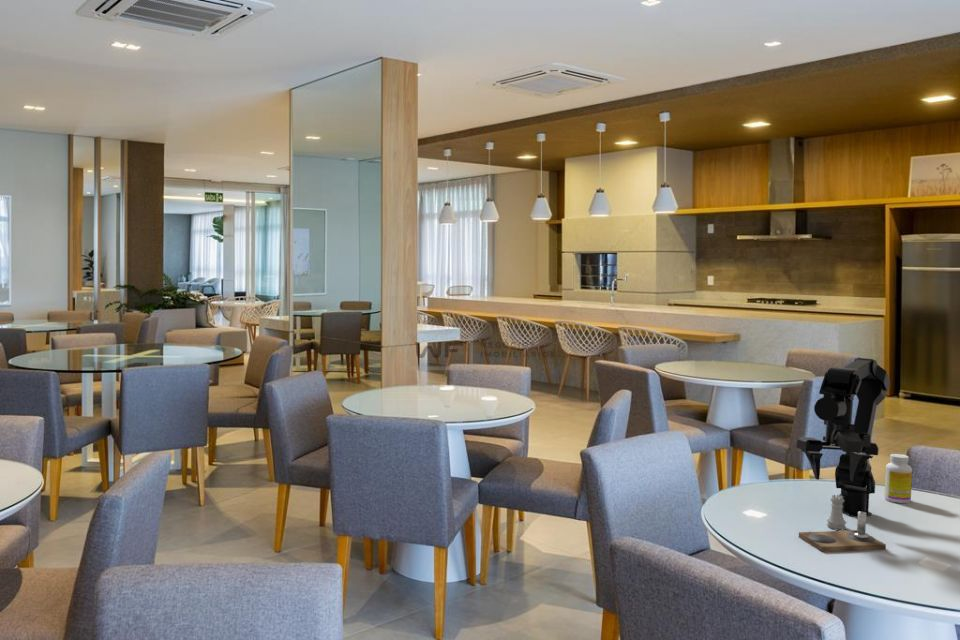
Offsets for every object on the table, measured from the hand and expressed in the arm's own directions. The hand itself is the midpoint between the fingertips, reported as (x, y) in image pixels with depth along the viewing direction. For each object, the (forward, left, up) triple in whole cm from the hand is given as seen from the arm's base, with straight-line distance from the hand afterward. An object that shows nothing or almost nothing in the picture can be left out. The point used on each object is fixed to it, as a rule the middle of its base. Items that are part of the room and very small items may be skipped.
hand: (834, 480), depth 201 cm
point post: (0, +11, -11) cm, 16 cm away
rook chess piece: (-1, 0, -12) cm, 12 cm away
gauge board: (+5, +11, -12) cm, 17 cm away
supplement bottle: (-32, -20, -12) cm, 39 cm away
